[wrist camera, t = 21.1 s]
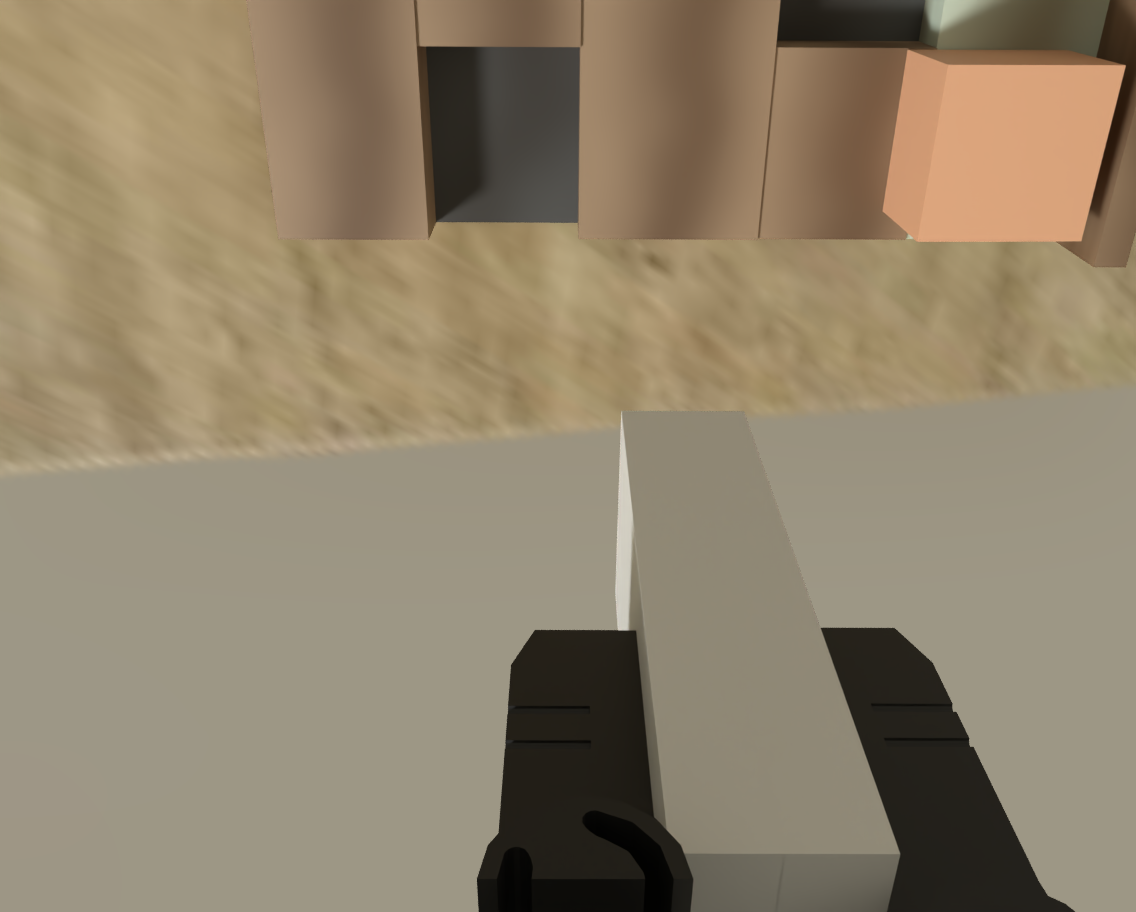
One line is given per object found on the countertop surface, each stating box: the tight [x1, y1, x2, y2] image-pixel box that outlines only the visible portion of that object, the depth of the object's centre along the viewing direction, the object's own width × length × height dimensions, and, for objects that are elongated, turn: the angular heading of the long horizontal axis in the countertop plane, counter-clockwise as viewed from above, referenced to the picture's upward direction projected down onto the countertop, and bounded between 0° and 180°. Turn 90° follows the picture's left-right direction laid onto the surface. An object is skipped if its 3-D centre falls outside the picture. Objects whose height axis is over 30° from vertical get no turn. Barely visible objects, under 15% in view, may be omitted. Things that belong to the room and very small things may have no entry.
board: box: [246, 0, 1136, 267], centre depth 31 cm, size 27×12×5 cm, turn 90°
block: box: [883, 50, 1126, 242], centre depth 31 cm, size 5×5×4 cm
